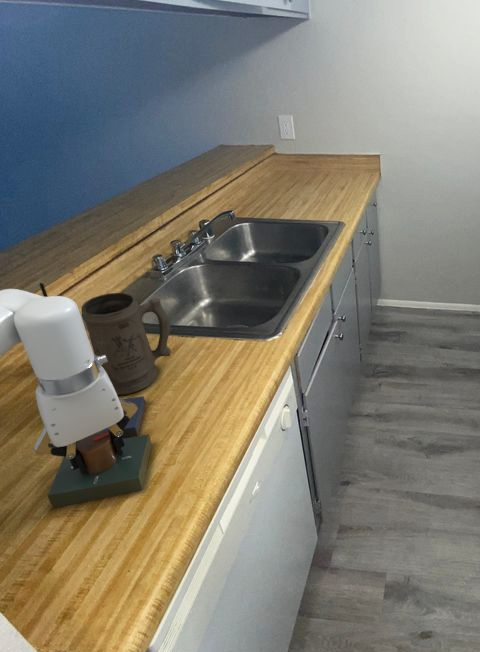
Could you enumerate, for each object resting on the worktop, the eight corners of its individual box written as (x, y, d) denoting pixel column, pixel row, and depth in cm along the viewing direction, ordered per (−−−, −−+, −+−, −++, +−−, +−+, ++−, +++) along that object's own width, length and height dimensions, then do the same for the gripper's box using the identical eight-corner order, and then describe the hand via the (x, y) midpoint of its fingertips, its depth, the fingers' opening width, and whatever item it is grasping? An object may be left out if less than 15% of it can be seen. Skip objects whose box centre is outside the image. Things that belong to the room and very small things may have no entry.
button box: (71, 446, 87) (65, 430, 85) (85, 413, 95) (79, 398, 93) (137, 435, 90) (133, 419, 88) (146, 404, 98) (141, 389, 96)
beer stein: (109, 404, 97) (90, 320, 89) (91, 380, 103) (72, 299, 95) (183, 375, 108) (173, 297, 99) (163, 355, 114) (151, 280, 105)
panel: (53, 508, 76) (46, 494, 74) (72, 460, 84) (66, 447, 83) (142, 490, 79) (138, 477, 78) (152, 446, 88) (148, 433, 86)
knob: (89, 478, 77) (80, 455, 75) (81, 461, 80) (72, 439, 78) (121, 463, 80) (113, 440, 78) (112, 447, 83) (105, 424, 81)
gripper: (122, 342, 79) (145, 423, 88) (-6, 387, 69) (35, 474, 77) (137, 362, 75) (160, 446, 83) (3, 414, 64) (46, 503, 72)
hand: (100, 458), depth 80 cm, fingers closed on knob, 4 cm apart
